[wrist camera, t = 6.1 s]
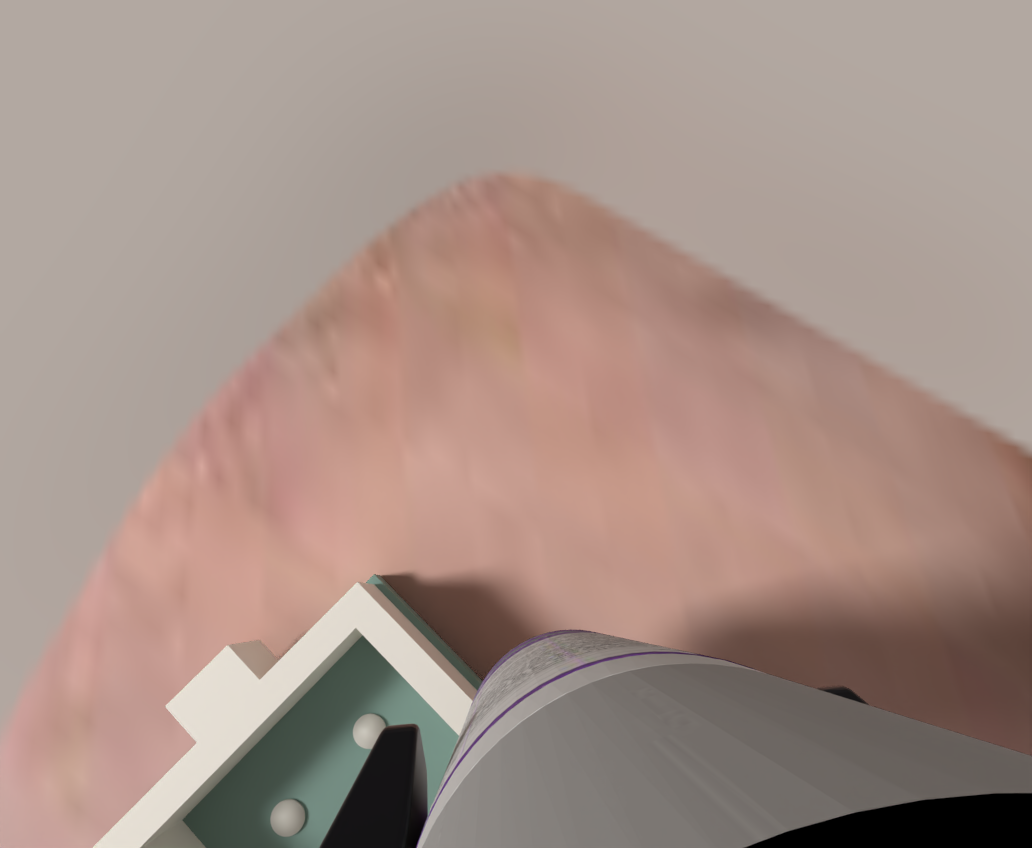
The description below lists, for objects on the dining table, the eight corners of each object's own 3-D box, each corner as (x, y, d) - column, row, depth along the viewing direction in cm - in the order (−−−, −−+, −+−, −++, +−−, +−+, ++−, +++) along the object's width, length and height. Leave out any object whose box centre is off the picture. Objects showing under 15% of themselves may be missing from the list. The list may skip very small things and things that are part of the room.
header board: (598, 799, 21) (617, 838, 17) (367, 1070, 19) (338, 1174, 16) (357, 552, 22) (331, 543, 19) (123, 783, 20) (48, 820, 17)
